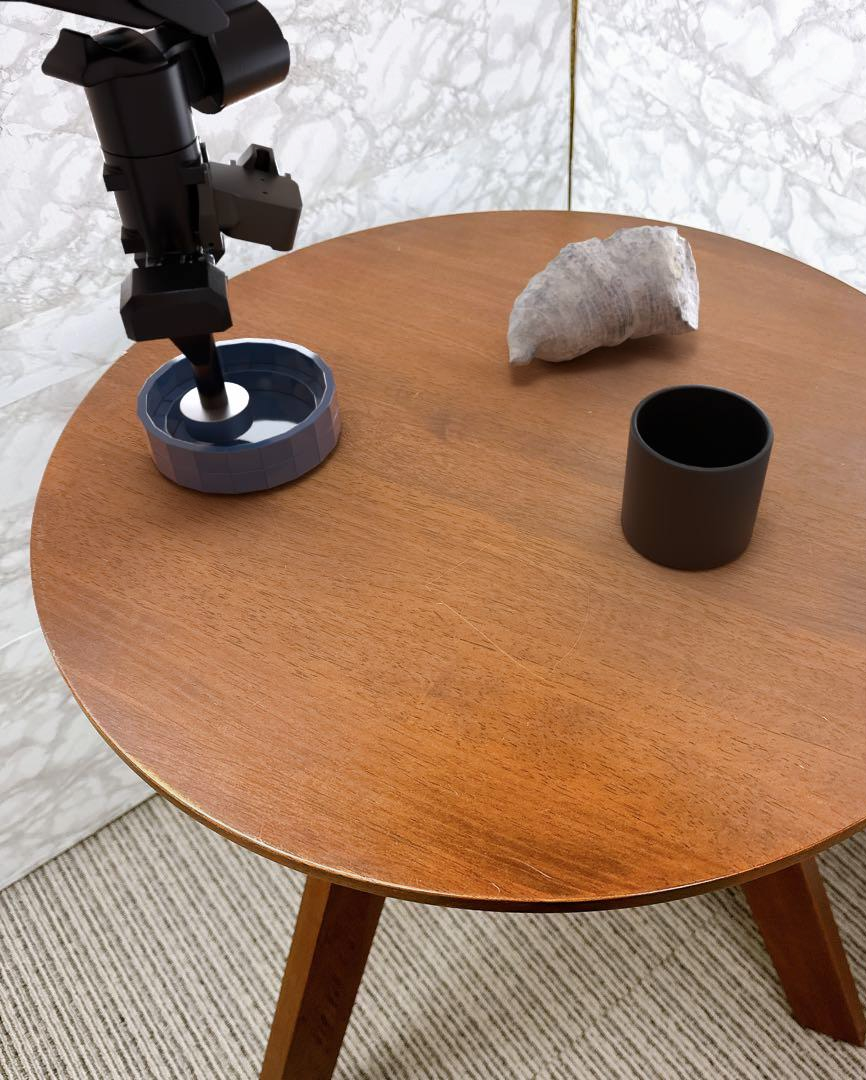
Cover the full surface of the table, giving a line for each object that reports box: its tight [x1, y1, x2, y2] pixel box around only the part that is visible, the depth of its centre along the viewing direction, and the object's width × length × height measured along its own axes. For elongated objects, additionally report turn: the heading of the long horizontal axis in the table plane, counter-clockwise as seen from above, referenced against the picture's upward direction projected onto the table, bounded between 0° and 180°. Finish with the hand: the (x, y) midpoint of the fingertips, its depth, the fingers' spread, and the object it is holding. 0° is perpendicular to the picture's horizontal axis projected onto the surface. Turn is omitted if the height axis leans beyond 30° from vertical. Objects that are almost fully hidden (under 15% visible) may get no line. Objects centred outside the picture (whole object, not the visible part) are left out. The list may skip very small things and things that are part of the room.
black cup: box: [620, 383, 775, 571], centre depth 71 cm, size 9×12×9 cm
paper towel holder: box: [180, 333, 254, 443], centre depth 73 cm, size 5×5×11 cm
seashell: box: [506, 224, 701, 367], centre depth 86 cm, size 16×15×10 cm
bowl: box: [136, 337, 342, 495], centre depth 78 cm, size 14×14×4 cm
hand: (202, 355), depth 73 cm, fingers closed on paper towel holder
